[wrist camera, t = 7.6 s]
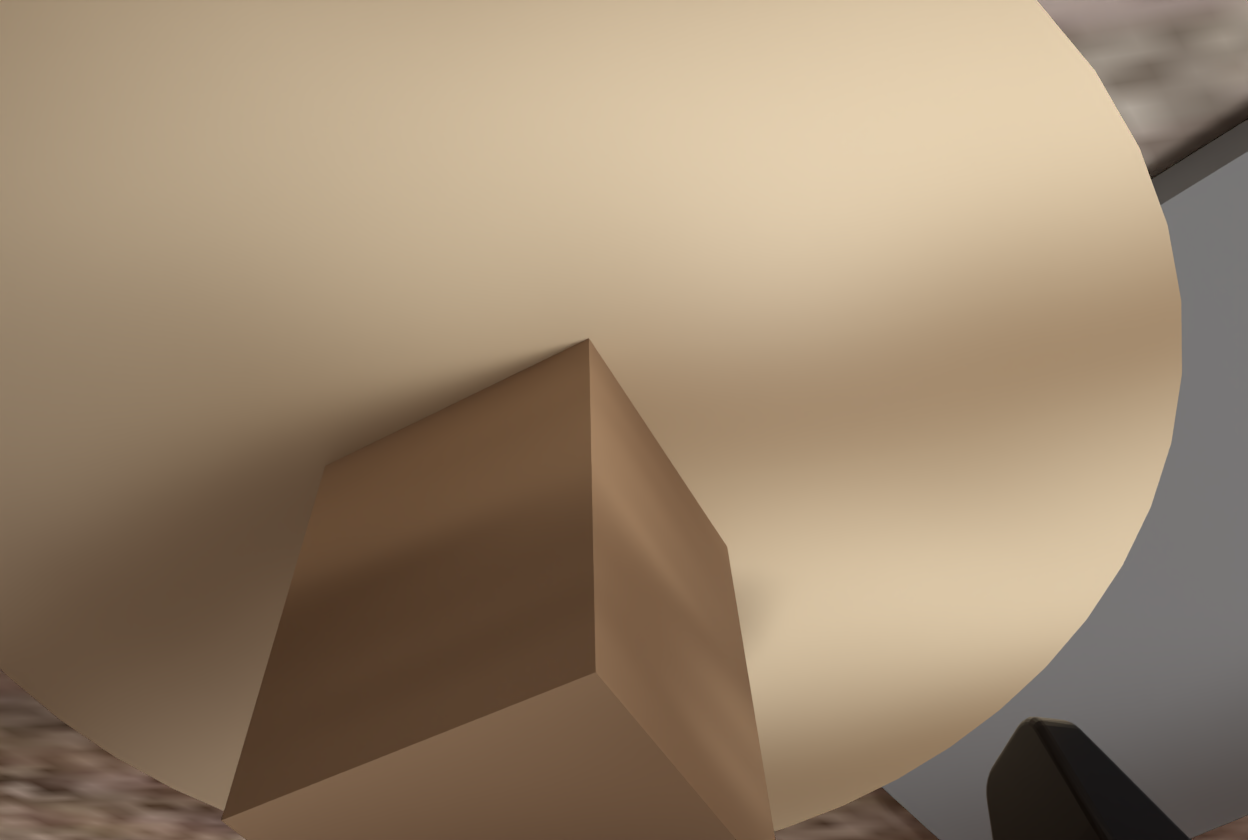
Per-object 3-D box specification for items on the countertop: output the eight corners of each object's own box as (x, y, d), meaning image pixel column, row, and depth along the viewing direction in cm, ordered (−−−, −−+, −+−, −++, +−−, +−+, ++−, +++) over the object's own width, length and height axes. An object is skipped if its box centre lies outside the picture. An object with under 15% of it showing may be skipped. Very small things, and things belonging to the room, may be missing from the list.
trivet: (1715, 588, 20) (1744, 613, 19) (1007, 883, 25) (1016, 909, 24) (1539, -64, 13) (1575, -52, 13) (612, 516, 18) (613, 541, 17)
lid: (1243, 598, 14) (1515, 997, 10) (393, 900, 17) (338, 1291, 13) (882, -649, 7) (1286, -999, 3) (-417, 246, 10) (-1048, 646, 6)
